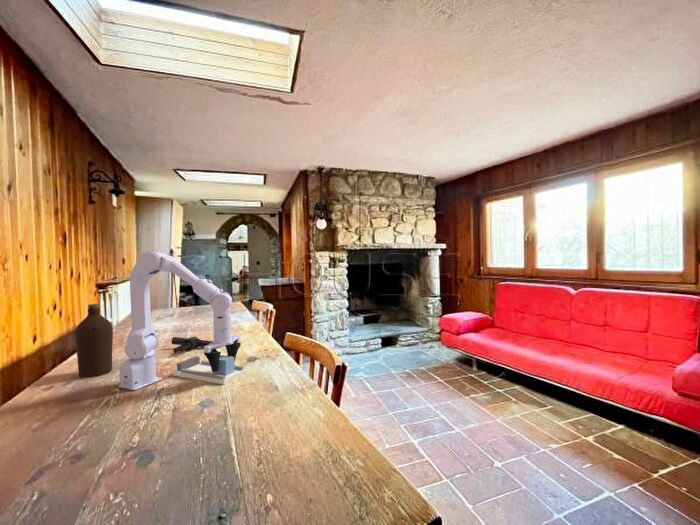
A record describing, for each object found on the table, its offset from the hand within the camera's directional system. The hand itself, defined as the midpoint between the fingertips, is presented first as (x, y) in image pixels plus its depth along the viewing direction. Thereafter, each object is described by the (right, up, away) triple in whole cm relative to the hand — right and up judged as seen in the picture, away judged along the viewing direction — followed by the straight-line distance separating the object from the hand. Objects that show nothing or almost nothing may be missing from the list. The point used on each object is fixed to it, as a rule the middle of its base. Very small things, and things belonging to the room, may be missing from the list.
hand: (223, 367), depth 108 cm
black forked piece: (-27, -3, +30) cm, 41 cm away
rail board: (-6, -3, +2) cm, 7 cm away
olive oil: (-48, -4, +5) cm, 49 cm away
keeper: (0, -2, 0) cm, 2 cm away
